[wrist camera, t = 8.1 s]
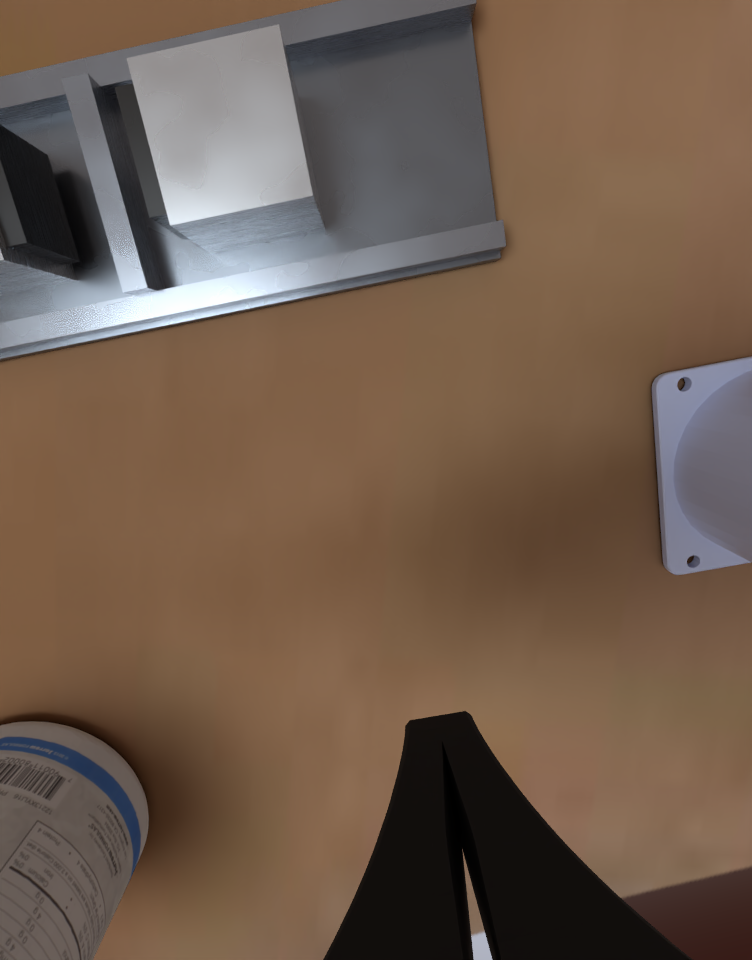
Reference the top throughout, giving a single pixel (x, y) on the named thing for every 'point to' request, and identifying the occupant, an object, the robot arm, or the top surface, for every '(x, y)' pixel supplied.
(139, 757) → the top surface
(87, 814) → the supplement tub
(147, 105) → the free white block
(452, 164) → the rail
